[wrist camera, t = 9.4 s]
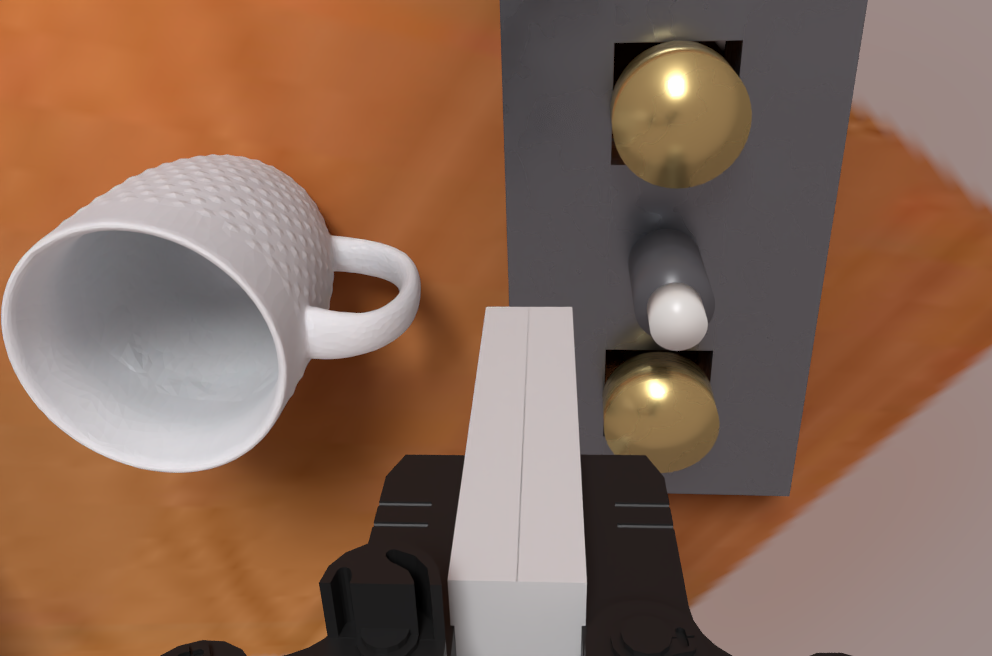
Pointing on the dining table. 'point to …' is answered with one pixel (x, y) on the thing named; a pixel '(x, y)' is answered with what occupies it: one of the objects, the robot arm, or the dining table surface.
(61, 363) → the mug
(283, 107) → the dining table surface
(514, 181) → the mount plate
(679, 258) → the pot post
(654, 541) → the robot arm
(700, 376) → the far knob
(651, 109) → the near knob
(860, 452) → the dining table surface
